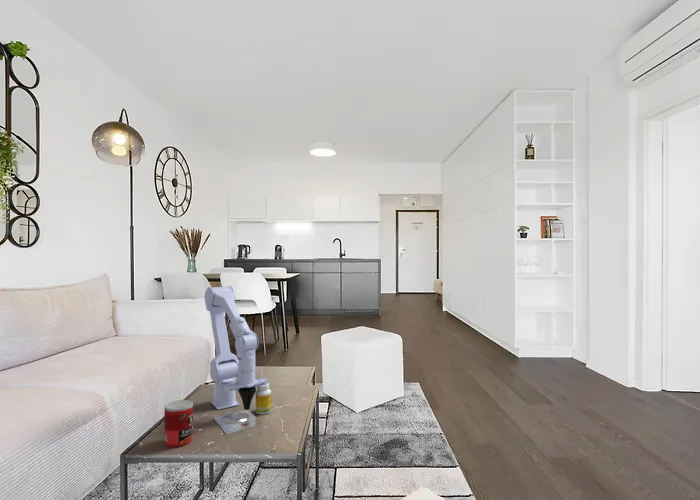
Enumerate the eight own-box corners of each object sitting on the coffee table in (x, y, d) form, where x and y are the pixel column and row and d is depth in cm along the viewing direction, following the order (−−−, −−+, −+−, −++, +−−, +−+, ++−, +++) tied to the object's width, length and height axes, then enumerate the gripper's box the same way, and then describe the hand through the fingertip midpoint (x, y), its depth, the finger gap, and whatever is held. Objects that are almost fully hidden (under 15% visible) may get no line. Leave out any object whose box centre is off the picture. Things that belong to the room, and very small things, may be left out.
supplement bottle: (254, 410, 137) (253, 383, 137) (269, 407, 140) (268, 380, 140) (257, 416, 132) (257, 387, 132) (273, 413, 135) (272, 385, 135)
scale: (213, 417, 131) (213, 416, 131) (247, 410, 138) (247, 408, 138) (226, 434, 118) (225, 432, 119) (263, 424, 125) (263, 423, 125)
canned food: (183, 449, 109) (183, 410, 110) (158, 447, 111) (158, 408, 111) (198, 436, 117) (198, 400, 117) (174, 435, 118) (174, 399, 119)
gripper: (229, 375, 125) (229, 417, 125) (271, 368, 134) (270, 407, 133) (223, 370, 131) (222, 410, 131) (263, 364, 139) (263, 401, 139)
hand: (246, 408), depth 133 cm, fingers closed
